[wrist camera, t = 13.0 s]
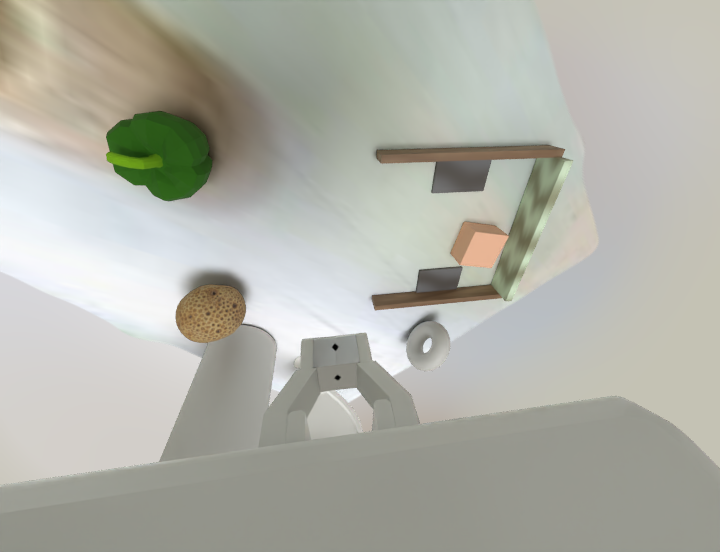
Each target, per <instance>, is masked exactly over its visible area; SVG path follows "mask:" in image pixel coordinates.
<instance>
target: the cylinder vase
mask: <svg viewBox="0 0 720 552" xmlns="http://www.w3.org/2000/svg"><path fill="white" fill-rule="evenodd" d="M276 352H277V347H276V343H275V341H274V339H273V338H272V337H271V336H270V335H269V334H268V333H267V332H265V331H263V330H261V329H259V328H256V327H252V326H246V325H240V327H239V328H237V329H236V331H235V332H234V333H233V334H231V335H229V336H227V337H225V338H223V339H220V340H217V341H213V342H209V343H208V345H207V348H206V350H205V353H204V355H203V357H202V360H201V362H200V365H199V367H198V370H197V372H196V374H195V377H194V379H193V382H192V384H191V386H190V389H189V391H188V394H187V396H186V399H185V401H184V403H183V406H182V408H181V410H180V413H179V415H178V418H177V420H176V423H175V425H174V427H173V430H172V432H171V435H170V437H169V439H168V442H167V444H166V447H165V449H164V451H163V454H162V456H161V459H160V461H159V462H163V461H170V460H177V459H184V458H191V457H198V456H205V455H212V454H218V453H225V452H232V451H239V450H246V449H253V448H258V446H259V440H260V433H261V427H262V421H263V415H264V413H265V412H266V410H267V409H268V407H269V399H270V392H271V386H272V379H273V372H274V365H275V359H276Z"/></svg>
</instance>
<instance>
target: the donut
mask: <svg viewBox="0 0 720 552" xmlns="http://www.w3.org/2000/svg"><path fill="white" fill-rule="evenodd" d="M428 338H431V339H432V345H431V348H430V350H429V351H428V352H427V353H424V352H423V344H424V342H425V341H426V340H427V339H428ZM449 350H450V338H449V335H448V332H447V330H446V329H445V328H444V327H443V326H442V325H441V324H439V323H437V322H434V321H426V322H423V323H420V324H419V325H417V326H416V327H415V328H414V329H413V331H412V332H411V334H410V335H409V337H408V341H407V348H406V352H407V356H408V359H409V361H410V362H411V364H412V365H413V366H414V367H415V368H417V369H419V370H422V371H432V370H435V369H436V368H438V367H440V366H441V365H442V364H443V363H444V362H445V360H446V358H447V356H448V354H449Z"/></svg>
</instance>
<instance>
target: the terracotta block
mask: <svg viewBox="0 0 720 552" xmlns="http://www.w3.org/2000/svg"><path fill="white" fill-rule="evenodd" d="M508 237H509V236H508V235H507V234H506V233H504V232H503V231H502V230H501V229H499V228H498V227H497V226H493V225H486V224H478V223H471V222H464V223H463V225H462V227H461V230H460V232H459V234H458V237H457V239H456V241H455V244H454V246H453V248H452V251H451V255H452V256H453V257H454V258H455V260H456V261H457V262H458V263H459V265H465V266H476V267H487V268H492V266H493V264H494V263H495V261H496V259H497V257H498V255H499V254H500V252H501V250H502V248H503V246H504V244H505V243H506V241H507V239H508Z"/></svg>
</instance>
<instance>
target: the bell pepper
mask: <svg viewBox="0 0 720 552" xmlns="http://www.w3.org/2000/svg"><path fill="white" fill-rule="evenodd" d="M106 138H107V142H108V146H109V150H110V152H108V153H107V154H106V156H107V161H108V162H110V163H112V164H113V166H114V170H115V172H116V173H117V174H119V175H120V176H122V177H123V178H125V179H126V180H127V181H129V182H130V183H132V184H133V185H146V187H147V188H148V189H149V190H150V191H151V193H152V194H153V195H154V196H156V197H158V198H160V199H162V200H165V201H173V200H178V199H183V198H189V197H191V196H192V195H193V194H194V193H196V192H197V191H198V190H199V189H200V188H201V187H202V186H203V185H204V184H205V183H206V182H207V179H208V177H209V174H210V171H211V168H212V159H211V158H210V157H209V156H208V155H207V154H208V152H209V145H208V141H207V138H206V135H205V134H204V133H203V132H202V131H201V130H200V129H199V128H198V127H197V126H196V125H195V124H193V123H192V122H190V121H187V120H184V119H182V118H179V117H177V116H174V115H172V114H169V113H166V112H162V111H157V112H149V113H142V114H135V115H134V117H133V119H128V120H121V121H120V122H119V123H117V124H116V125H115V126H114V127H113V128H112V129H111V130H109V131H108V132H107V136H106Z"/></svg>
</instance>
